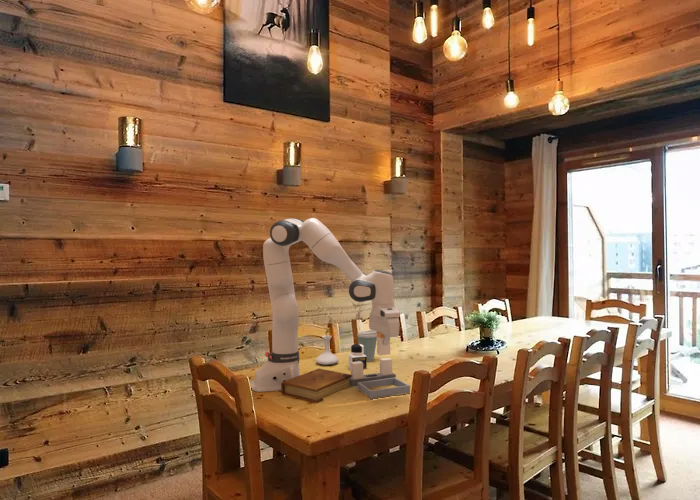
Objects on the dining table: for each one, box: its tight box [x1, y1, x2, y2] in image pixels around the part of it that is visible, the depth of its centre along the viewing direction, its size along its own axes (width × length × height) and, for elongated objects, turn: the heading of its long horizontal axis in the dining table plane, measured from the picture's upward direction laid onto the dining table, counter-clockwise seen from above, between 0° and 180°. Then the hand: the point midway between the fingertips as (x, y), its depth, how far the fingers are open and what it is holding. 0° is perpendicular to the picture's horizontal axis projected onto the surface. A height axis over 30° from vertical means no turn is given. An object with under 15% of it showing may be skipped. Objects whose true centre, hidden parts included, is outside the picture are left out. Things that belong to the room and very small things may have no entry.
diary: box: [280, 368, 352, 404], centre depth 201 cm, size 23×19×6 cm
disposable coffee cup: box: [356, 330, 377, 362], centre depth 251 cm, size 11×11×15 cm
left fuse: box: [350, 361, 364, 379], centre depth 208 cm, size 4×3×9 cm, turn 112°
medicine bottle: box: [348, 343, 368, 371], centre depth 234 cm, size 7×7×12 cm
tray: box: [356, 377, 411, 401], centre depth 198 cm, size 18×13×4 cm
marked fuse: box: [376, 332, 391, 356], centre depth 198 cm, size 4×3×9 cm, turn 114°
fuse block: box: [349, 372, 397, 388], centre depth 211 cm, size 22×7×4 cm, turn 113°
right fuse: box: [379, 357, 393, 375], centre depth 213 cm, size 4×3×9 cm, turn 113°
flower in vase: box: [315, 313, 339, 366], centre depth 245 cm, size 13×11×25 cm
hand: (383, 344), depth 198 cm, fingers closed on marked fuse, 3 cm apart
